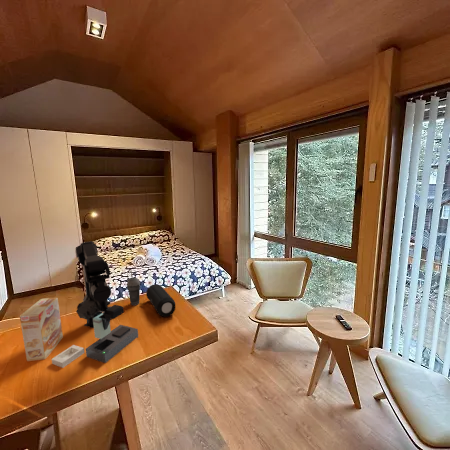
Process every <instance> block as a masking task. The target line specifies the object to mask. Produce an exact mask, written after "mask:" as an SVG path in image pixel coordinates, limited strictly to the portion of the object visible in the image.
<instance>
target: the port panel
mask: <svg viewBox="0 0 450 450" xmlns="http://www.w3.org/2000/svg"><path fill="white" fill-rule="evenodd" d="M137 338H139V330H138V328H135V327H130V326H128V325H123V324H119V325H117V326H116V327H115V328H114V329H112V330H111V333H109V334H108V335H106V336H105V337H103V338H102V339H99V338H98V339H97V340H96V341H95V342H94V343H91V344H90V345H89V346H87V347H86V348H85V356H86V358H89V359H92V360H95V361H97V362H100V363H104V364H106V363H108V362H109V361H110V360H111V359H113V358H114V357H115V356H116V355H118V354H119V353H120V352H121V351H122V350H124V349H125V348H126V347H127V346H128V345H130V344H131V343H132V342H133V341H134V340H136V339H137Z"/></svg>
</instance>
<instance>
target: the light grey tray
mask: <svg viewBox="0 0 450 450" xmlns="http://www.w3.org/2000/svg"><path fill="white" fill-rule="evenodd" d="M84 354H86V351H85V347H82V346H78V345H75V344H72V345H71V346H69V347H68V348H67V349H65V350H62V352H60V353H59V354H57V355H55V356H54V357H53V358H51V364H52V365H55V366H57V367H59V368H63V369H64V368H65V367H66V366H68V365H70V364H71V363H72V362H73V361H75V360H76V359H78V358H79V357H81V356H82V355H84Z"/></svg>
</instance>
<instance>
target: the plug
mask: <svg viewBox="0 0 450 450" xmlns="http://www.w3.org/2000/svg"><path fill="white" fill-rule="evenodd" d="M101 315H103V312H102V313H101V314H100V315H98V316H96V317H95V318H93V325H94V328H93V332H94V338H95V339H98V340H99V339H102V338H103V337H105V336H106V335H108V334H109V333H111V331H112V330H111V322H110V323H109V325H108V328H107V329H106V330H104V327H103V322H102V319H101V318H99V317H100V316H101Z"/></svg>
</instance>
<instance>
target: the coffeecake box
mask: <svg viewBox="0 0 450 450" xmlns="http://www.w3.org/2000/svg"><path fill="white" fill-rule="evenodd" d="M60 313H61V312H60V305H59V299H58V297H46V298H40V299H39V300H38V301H37V302H35V303H34V304H33V305H32V306H30V307H29V308H28V309H26V310H25V311H24V312H23V313H21V314H20V315H19V319H20V327H21V333H22V338H23V343H24V344H23V345H24V350H25V351H24V353H25V357H26V361H27V362H31V361H40V360H41V361H42V360H46V359H47V358H48V357H49V355H51V353H52V352H53V351H54V350H55V348H56V347H57V345H58V344H59V343H60V342H61V340H62V339H63V338H64V335H63V334H64V333H63V326H62V320H61V314H60Z"/></svg>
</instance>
